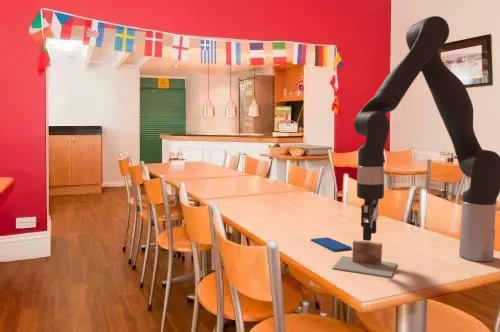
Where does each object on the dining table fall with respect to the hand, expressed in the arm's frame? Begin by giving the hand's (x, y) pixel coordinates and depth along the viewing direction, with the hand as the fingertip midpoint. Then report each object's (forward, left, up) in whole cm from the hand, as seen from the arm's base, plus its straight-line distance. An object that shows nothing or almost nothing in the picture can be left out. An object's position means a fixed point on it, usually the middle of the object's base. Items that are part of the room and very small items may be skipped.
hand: (369, 236), depth 130 cm
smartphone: (+16, -15, -9) cm, 23 cm away
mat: (0, +3, -8) cm, 9 cm away
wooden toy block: (+1, 0, -8) cm, 8 cm away
